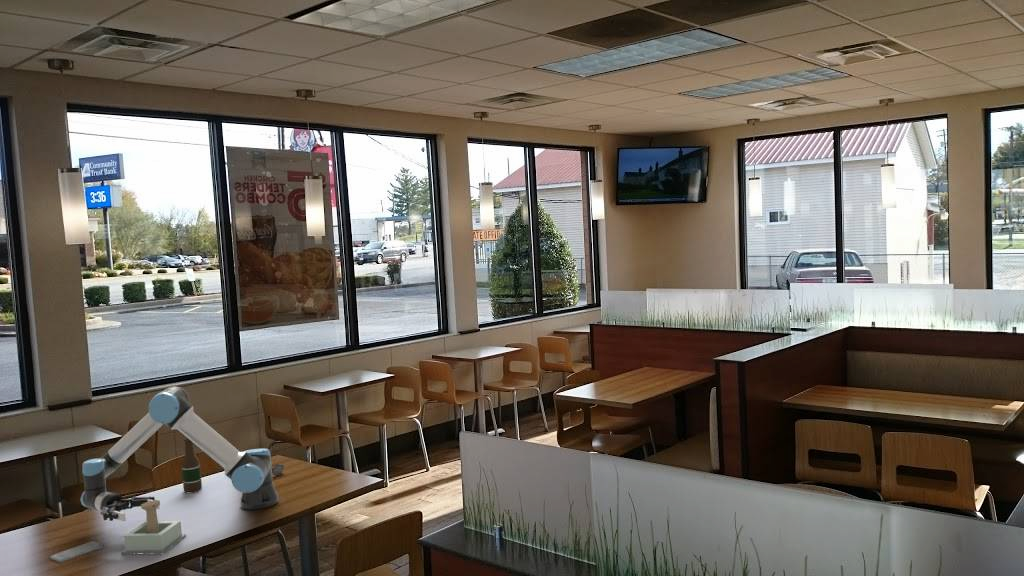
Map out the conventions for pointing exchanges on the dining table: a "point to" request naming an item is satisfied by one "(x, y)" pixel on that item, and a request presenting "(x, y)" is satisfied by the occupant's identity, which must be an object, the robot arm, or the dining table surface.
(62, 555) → the phone
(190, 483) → the beer bottle
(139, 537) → the holder
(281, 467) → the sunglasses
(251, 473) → the robot arm
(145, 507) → the handle
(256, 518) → the dining table surface
